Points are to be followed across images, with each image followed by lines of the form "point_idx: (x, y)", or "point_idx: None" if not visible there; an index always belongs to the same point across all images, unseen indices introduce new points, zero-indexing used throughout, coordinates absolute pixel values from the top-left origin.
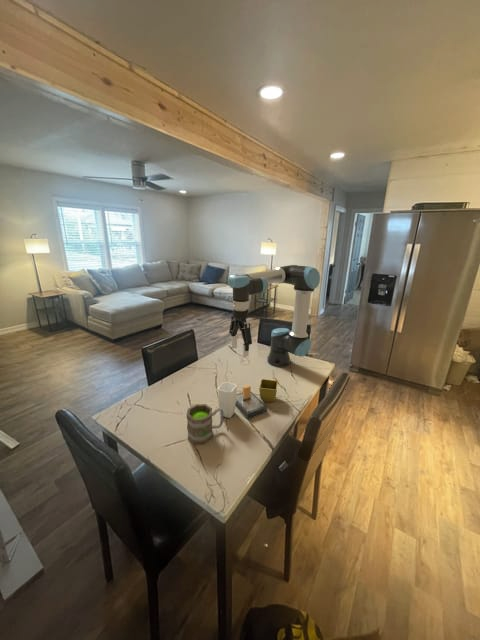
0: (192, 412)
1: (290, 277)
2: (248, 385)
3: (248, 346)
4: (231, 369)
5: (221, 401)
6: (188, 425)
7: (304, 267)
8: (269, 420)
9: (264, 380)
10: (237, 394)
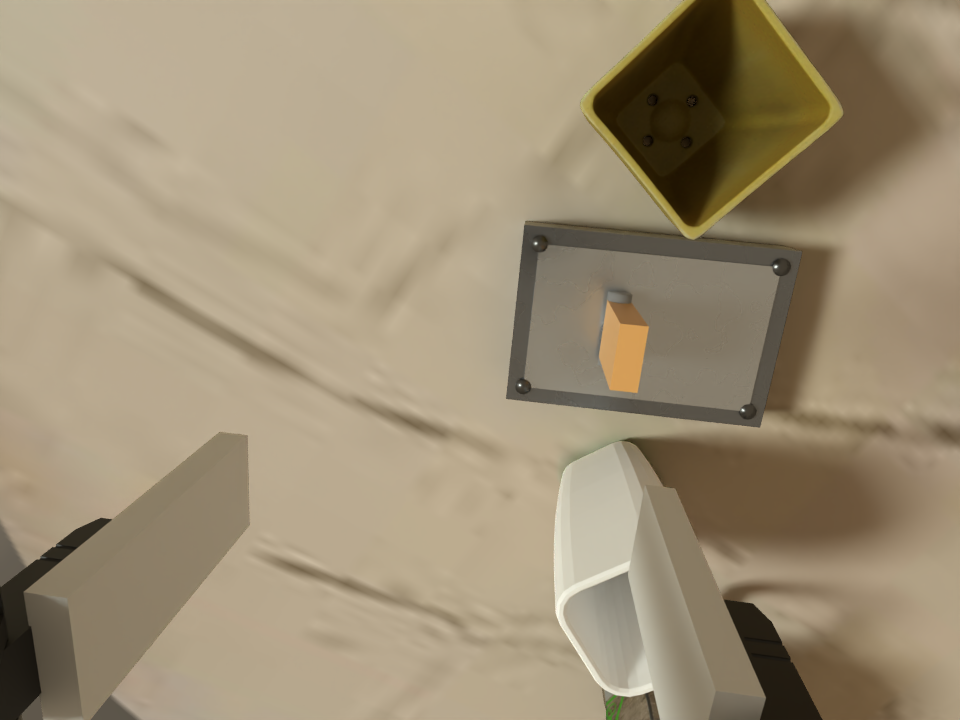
0: None
1: None
2: (620, 331)
3: (805, 710)
4: (84, 93)
5: None
6: None
7: None
8: (862, 297)
9: (608, 83)
10: (517, 346)
